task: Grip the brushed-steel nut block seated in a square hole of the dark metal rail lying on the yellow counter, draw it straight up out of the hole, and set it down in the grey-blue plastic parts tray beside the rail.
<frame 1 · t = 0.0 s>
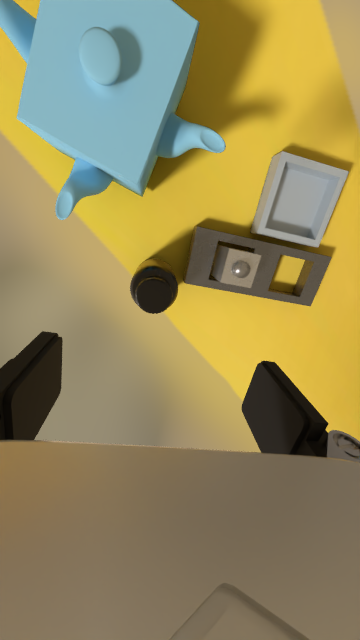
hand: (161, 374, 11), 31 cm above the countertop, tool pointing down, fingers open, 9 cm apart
parts tray: (291, 204, 38), on the countertop
supplement bottle: (154, 277, 41), on the countertop
rail: (253, 267, 41), on the countertop
nut block: (226, 262, 41), resting in rail
teakettle: (120, 134, 33), on the countertop
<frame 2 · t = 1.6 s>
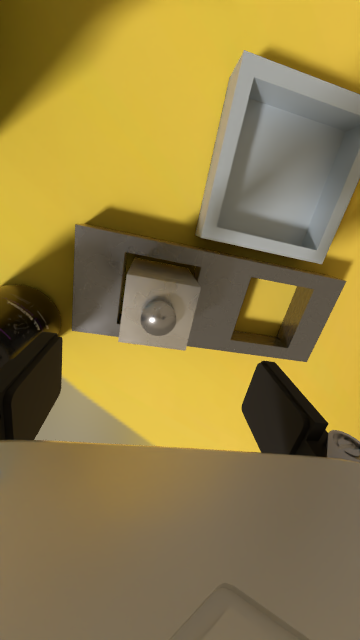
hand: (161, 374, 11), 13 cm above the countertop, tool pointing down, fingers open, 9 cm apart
parts tray: (271, 182, 20), on the countertop
supplement bottle: (26, 315, 23), on the countertop
rail: (206, 296, 23), on the countertop
nut block: (157, 288, 23), resting in rail
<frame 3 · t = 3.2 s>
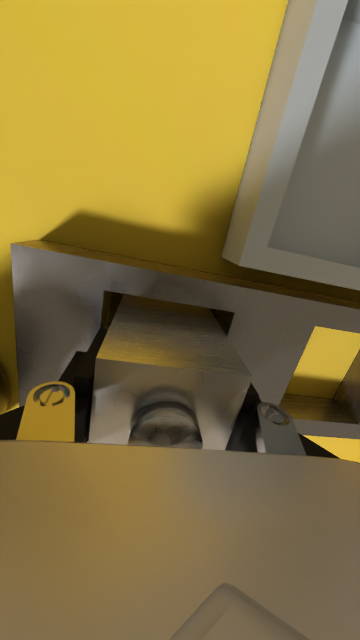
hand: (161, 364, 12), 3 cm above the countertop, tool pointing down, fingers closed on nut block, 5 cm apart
parts tray: (349, 170, 12), on the countertop
rail: (234, 347, 15), on the countertop
nut block: (160, 337, 15), resting in rail, touching gripper
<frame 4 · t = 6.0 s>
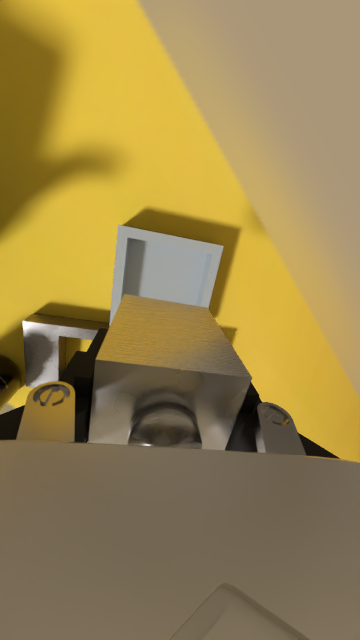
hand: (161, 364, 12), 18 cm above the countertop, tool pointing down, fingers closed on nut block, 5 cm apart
parts tray: (163, 281, 28), on the countertop
rail: (128, 356, 32), on the countertop
nut block: (159, 338, 15), point 15 cm above the countertop, touching gripper
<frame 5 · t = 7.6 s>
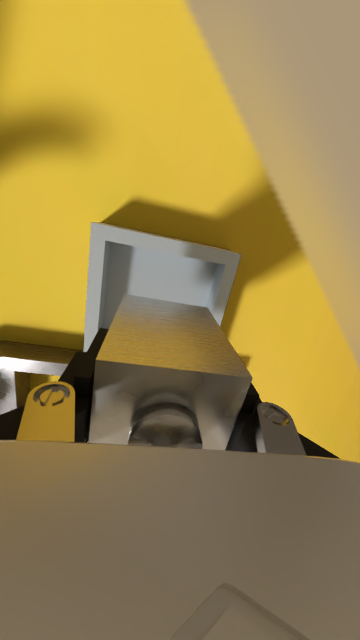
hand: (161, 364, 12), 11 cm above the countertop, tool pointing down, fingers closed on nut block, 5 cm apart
parts tray: (157, 298, 21), on the countertop
rail: (112, 390, 25), on the countertop
nut block: (160, 338, 15), point 8 cm above the countertop, touching gripper
when the fingers open (5 cm above the countertop, at t = 9.1 s): nut block drops 1 cm, resting on parts tray.
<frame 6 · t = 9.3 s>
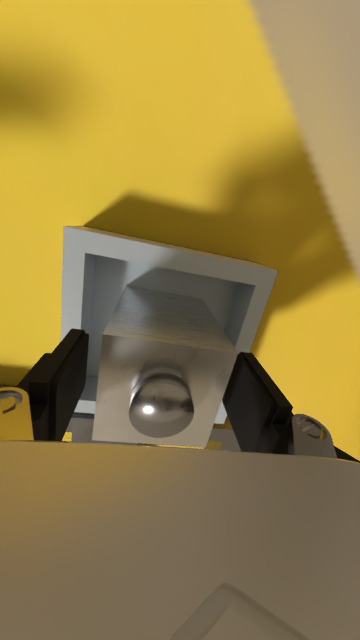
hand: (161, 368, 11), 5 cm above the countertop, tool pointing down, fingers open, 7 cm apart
parts tray: (159, 325, 16), on the countertop
rail: (102, 437, 20), on the countertop
nut block: (158, 327, 16), point 1 cm above the countertop, touching parts tray
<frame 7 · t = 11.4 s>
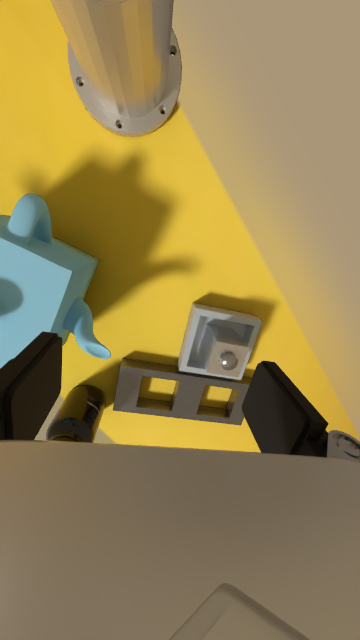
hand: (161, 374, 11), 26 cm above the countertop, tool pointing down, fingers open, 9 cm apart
parts tray: (215, 338, 40), on the countertop
supplement bottle: (87, 398, 42), on the countertop
rail: (184, 389, 43), on the countertop
nut block: (216, 339, 39), point 1 cm above the countertop, touching parts tray
teakettle: (44, 288, 35), on the countertop
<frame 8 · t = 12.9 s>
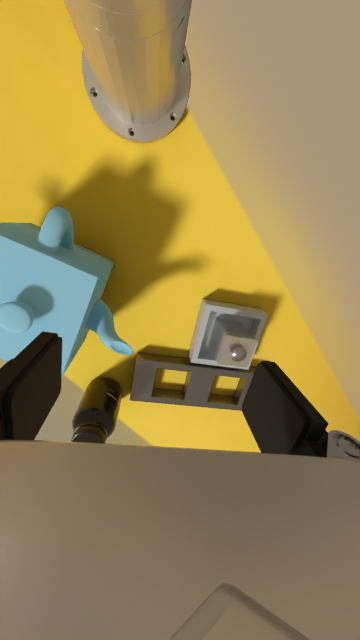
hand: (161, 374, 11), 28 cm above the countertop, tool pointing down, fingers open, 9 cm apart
parts tray: (223, 331, 43), on the countertop
supplement bottle: (104, 390, 45), on the countertop
rail: (194, 379, 46), on the countertop
nut block: (224, 332, 42), point 1 cm above the countertop, touching parts tray
teakettle: (63, 289, 37), on the countertop
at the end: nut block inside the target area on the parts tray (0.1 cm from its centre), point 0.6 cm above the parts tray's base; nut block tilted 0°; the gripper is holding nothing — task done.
